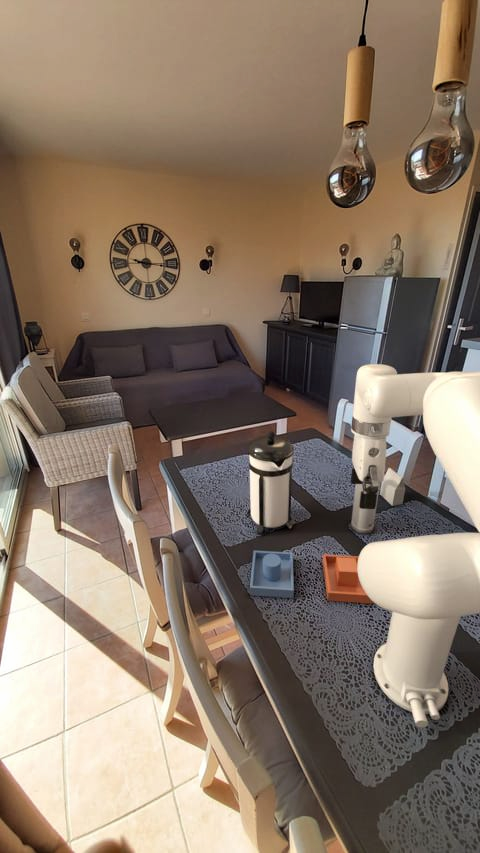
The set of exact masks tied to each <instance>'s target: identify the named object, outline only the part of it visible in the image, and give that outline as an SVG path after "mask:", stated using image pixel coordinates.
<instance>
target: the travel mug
mask: <svg viewBox="0 0 480 853" xmlns="http://www.w3.org/2000/svg"><path fill="white" fill-rule="evenodd" d="M366 479H370V476H366ZM370 484H371V482H366V488H367V487H368V486H370ZM354 485H355V487H354V496H353V505H352V512H351V521H350V527H351V528H352V529H353V530H354V532H357V533H360V534H370V533H371V532H373V531H374V526H375V520H376V512H377V505H378V499H379V494H380V492H379V491H380V487H381V486H380V485H381V482H379V487H378V494H377V500H376V507H375V509H361V508H360V507H359V504H360V496H361V491H363V487H362V484H354Z"/></svg>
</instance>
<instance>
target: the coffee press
mask: <svg viewBox="0 0 480 853" xmlns="http://www.w3.org/2000/svg"><path fill="white" fill-rule="evenodd" d="M247 453H248V455H249V457H248V468H249V494H250V495H249V497H250V500H249V501H250V502H249V503H250V509H249V510H248V512H247V514H248V515H249V516H250V517H251V519H252V521H253V522H254V523H255V524H257V525H258V528H257V534H258V535H261V536H262V535H263V534H264V533H265V529H266V528H269V529H272V528H279V527H281V526H284V525H286V527H287V528H288V529H290V530H291V529H293V528H294V526H295V523H294V522H293V520H292V513H291V512H292V483H293V482H292V481H293V468H294V458H293V455H294V453H295V448H294V445H293V444H292V442H291V441H290V439H288V438H286V437H284V436H282V435H278V434H276V433H275V432H274V431H273V430H269V431H268V432H267V434H262V435H259V436H257V437H255V438H254V439H253V440H251V442H250V444H249V445H248V447H247Z"/></svg>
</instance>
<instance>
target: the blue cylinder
mask: <svg viewBox="0 0 480 853" xmlns="http://www.w3.org/2000/svg"><path fill="white" fill-rule="evenodd" d="M280 576H281V559H280V557H279V556H278V555H276V554H267V555H265V556H264V558H263V577H264V578H265V579H266V580H267V581H270V582H274V581H277V580H279V578H280Z"/></svg>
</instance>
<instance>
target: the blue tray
mask: <svg viewBox="0 0 480 853" xmlns="http://www.w3.org/2000/svg"><path fill="white" fill-rule="evenodd" d="M267 554H276V555H278V556H279V557H280V559H281V576H280V578H279V580H277V581H274V582H270V581H267V580H266V579H265V578H264V577H263V558H264V556H265V555H267ZM252 555H253V556H252V563H251V571H250V572H251V573H250V581H249V596H254V597H255V596H258V597H271V598H283V599H284V598H285V599H294V595H295V594H294V593H295V587H294V586H295V585H294V584H295V582H294V554H293V552H290V551H289V552H288V551H287V552H286V551H271V550H270V551H269V550H253V552H252Z"/></svg>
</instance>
